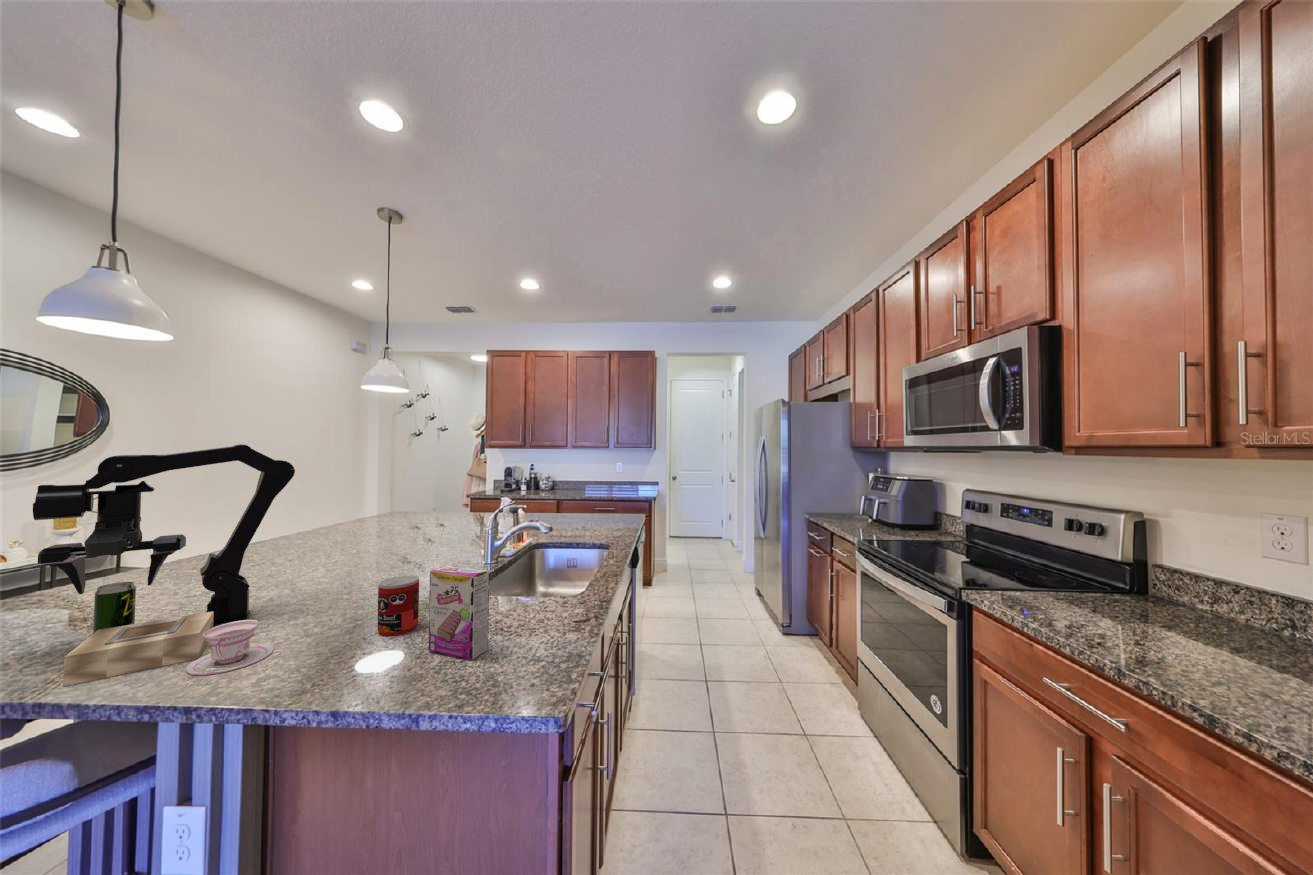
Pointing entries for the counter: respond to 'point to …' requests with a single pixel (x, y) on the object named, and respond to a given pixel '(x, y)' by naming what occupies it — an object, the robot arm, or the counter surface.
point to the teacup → (230, 647)
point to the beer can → (114, 605)
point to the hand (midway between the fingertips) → (116, 589)
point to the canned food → (398, 605)
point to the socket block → (137, 648)
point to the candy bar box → (459, 611)
